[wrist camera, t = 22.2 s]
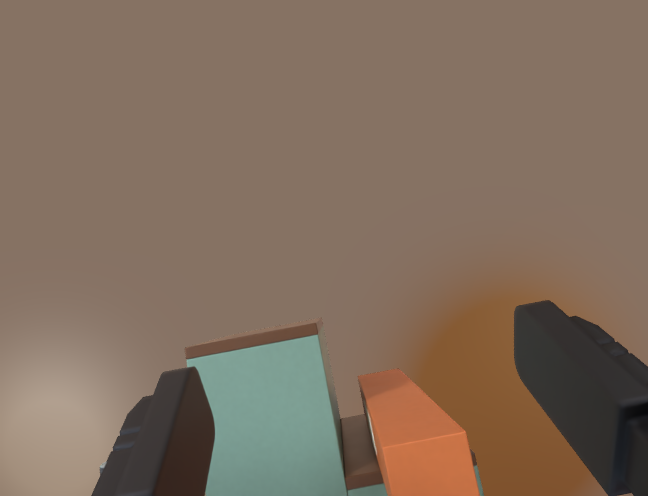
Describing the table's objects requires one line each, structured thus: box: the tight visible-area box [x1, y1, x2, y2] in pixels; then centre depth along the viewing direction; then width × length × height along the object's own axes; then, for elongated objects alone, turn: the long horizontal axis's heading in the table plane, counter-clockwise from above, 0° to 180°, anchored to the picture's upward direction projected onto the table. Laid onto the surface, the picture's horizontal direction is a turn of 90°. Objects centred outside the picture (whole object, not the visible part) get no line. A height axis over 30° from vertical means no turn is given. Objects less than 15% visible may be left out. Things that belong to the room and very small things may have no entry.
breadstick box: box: [358, 368, 480, 496], centre depth 32 cm, size 22×4×4 cm, turn 179°
